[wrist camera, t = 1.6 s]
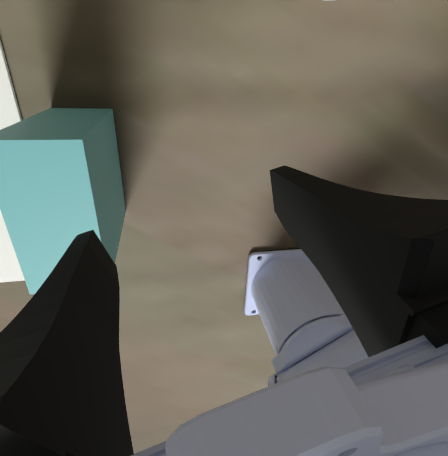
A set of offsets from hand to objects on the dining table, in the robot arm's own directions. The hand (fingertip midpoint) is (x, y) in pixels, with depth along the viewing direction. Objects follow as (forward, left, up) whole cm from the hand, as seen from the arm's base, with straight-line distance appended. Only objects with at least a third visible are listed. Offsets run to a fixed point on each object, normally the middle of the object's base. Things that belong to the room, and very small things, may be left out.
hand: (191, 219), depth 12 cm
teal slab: (+6, +2, -13) cm, 15 cm away
